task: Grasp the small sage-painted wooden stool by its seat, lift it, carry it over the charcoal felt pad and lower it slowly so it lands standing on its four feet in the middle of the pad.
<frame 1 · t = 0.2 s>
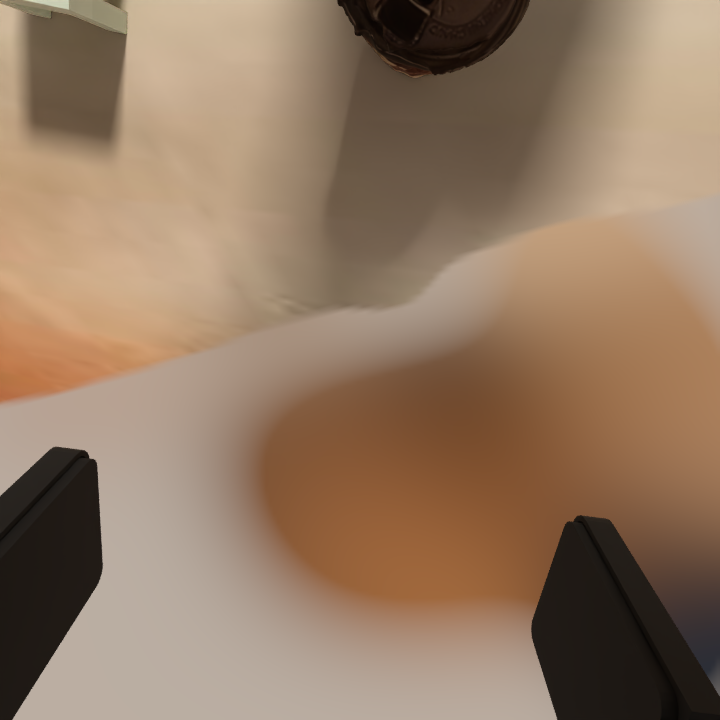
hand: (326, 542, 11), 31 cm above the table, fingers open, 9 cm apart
coffee cup: (415, 22, 34), on the table
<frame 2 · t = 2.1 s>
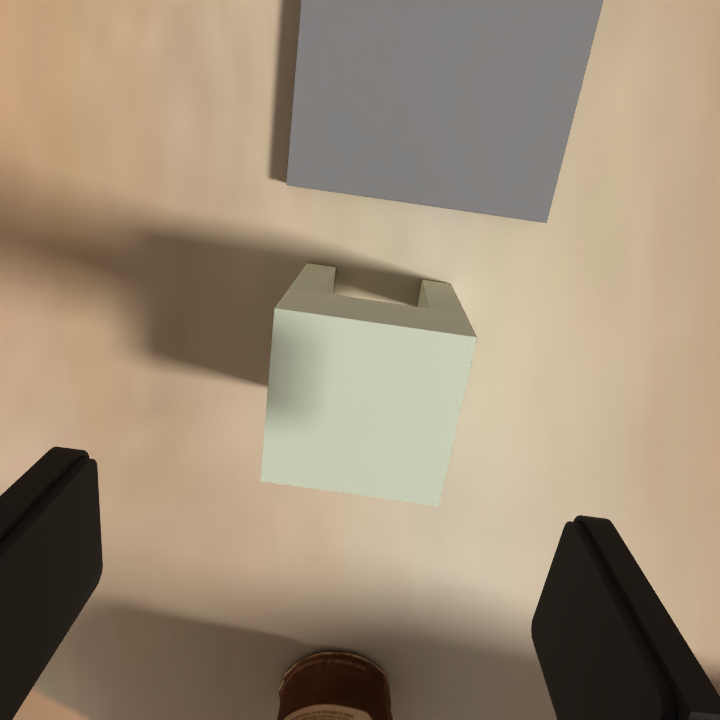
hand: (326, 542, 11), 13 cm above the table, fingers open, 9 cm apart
felt pad: (439, 59, 20), on the table
coffee cup: (335, 683, 31), on the table
stool: (368, 341, 23), on the table
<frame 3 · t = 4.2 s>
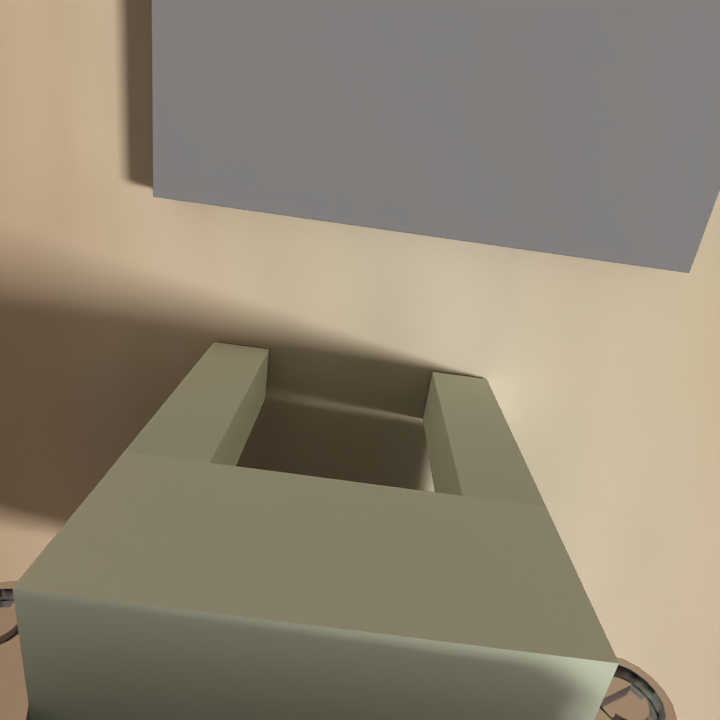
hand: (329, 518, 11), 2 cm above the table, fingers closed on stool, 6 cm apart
stool: (335, 475, 13), on the table, touching gripper
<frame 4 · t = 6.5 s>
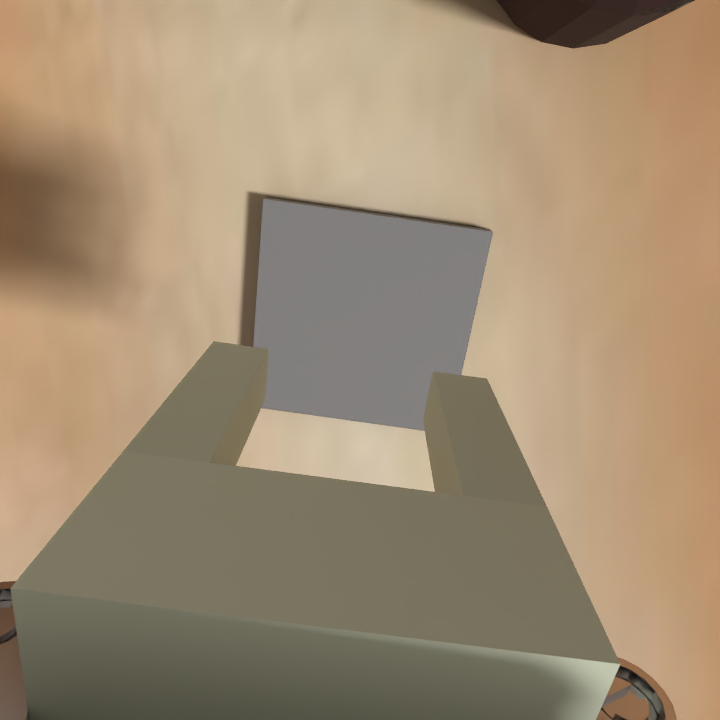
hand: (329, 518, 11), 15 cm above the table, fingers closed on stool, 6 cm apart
felt pad: (363, 320, 26), on the table
stool: (335, 475, 13), point 14 cm above the table, touching gripper
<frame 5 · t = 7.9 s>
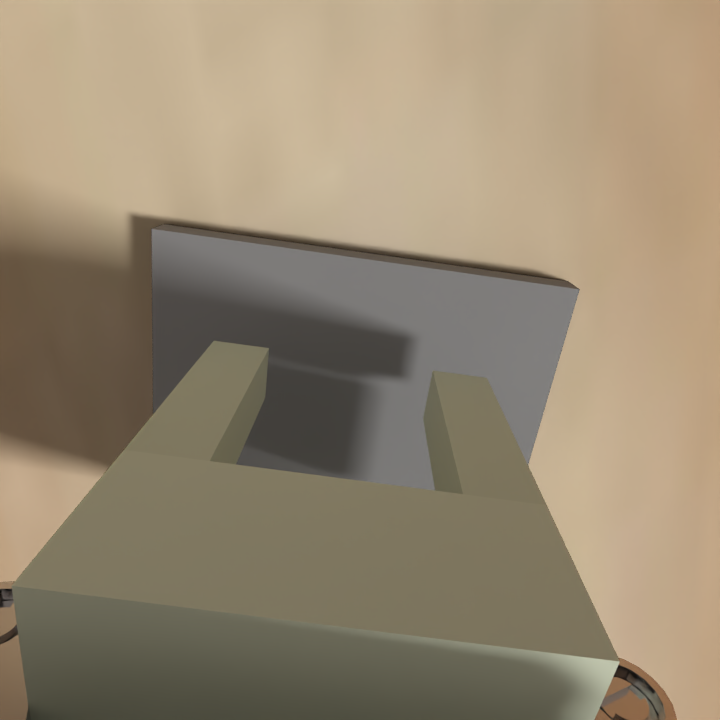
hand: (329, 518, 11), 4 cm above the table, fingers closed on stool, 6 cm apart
felt pad: (342, 430, 15), on the table
stool: (335, 474, 13), point 2 cm above the table, touching gripper
when the fingers open (3 cm above the table, at t = 8.8 s): stool drops 1 cm, resting on felt pad.
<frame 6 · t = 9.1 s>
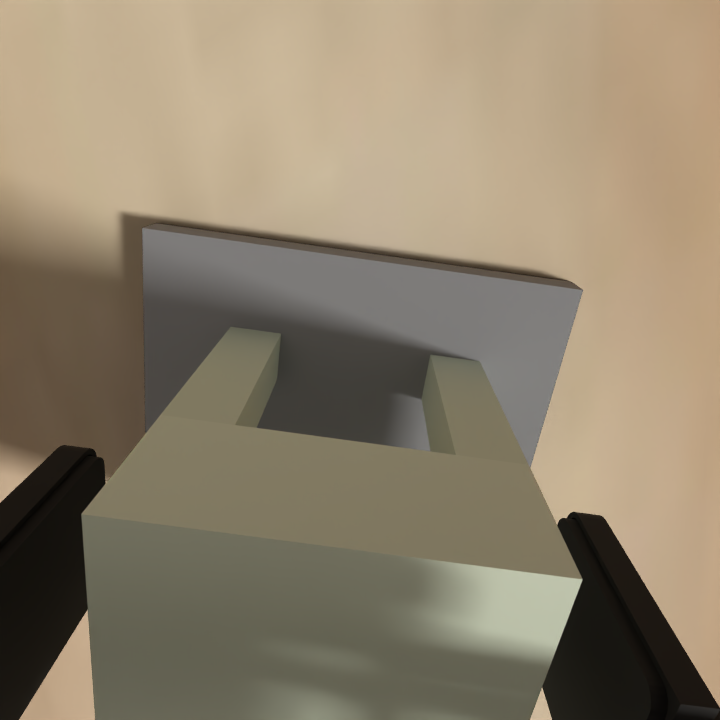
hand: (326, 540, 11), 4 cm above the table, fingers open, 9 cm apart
felt pad: (340, 434, 15), on the table
stool: (340, 451, 14), point 1 cm above the table, touching felt pad
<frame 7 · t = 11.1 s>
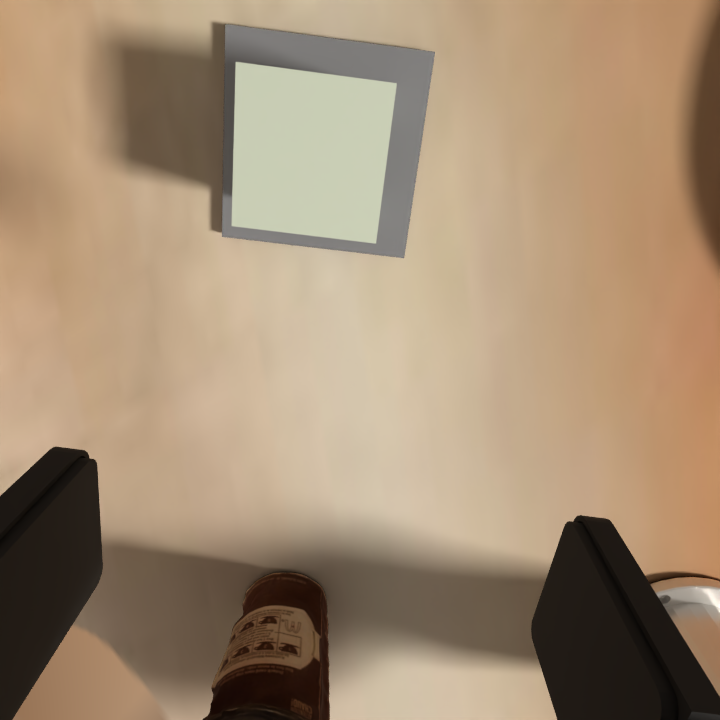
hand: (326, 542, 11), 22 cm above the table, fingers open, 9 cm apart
felt pad: (322, 149, 28), on the table
coffee cup: (285, 597, 41), on the table
stool: (322, 151, 28), point 1 cm above the table, touching felt pad
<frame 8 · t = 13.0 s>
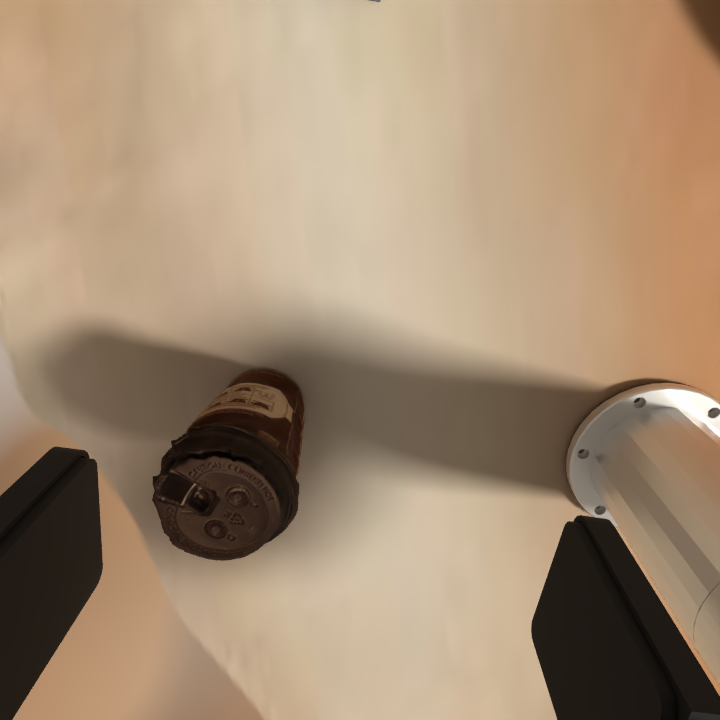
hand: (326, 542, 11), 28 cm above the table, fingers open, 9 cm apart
coffee cup: (263, 402, 42), on the table
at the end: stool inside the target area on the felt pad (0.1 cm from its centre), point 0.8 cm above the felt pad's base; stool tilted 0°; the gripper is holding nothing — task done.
